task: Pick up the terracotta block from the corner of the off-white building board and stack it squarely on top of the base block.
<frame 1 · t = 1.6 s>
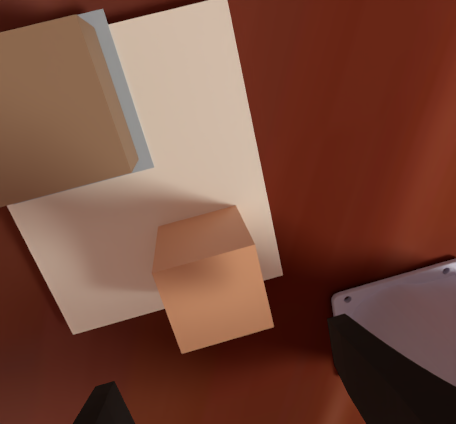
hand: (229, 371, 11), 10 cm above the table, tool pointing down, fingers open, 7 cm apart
terracotta block: (207, 250, 19), point 1 cm above the table, touching building board
building board: (141, 183, 19), on the table
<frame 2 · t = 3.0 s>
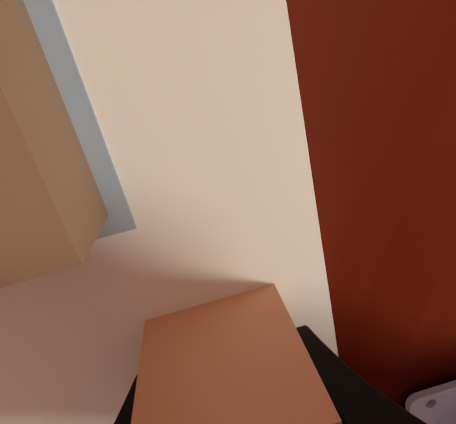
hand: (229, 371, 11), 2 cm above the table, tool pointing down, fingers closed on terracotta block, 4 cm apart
terracotta block: (225, 351, 12), point 1 cm above the table, touching building board, gripper
building board: (116, 248, 11), on the table
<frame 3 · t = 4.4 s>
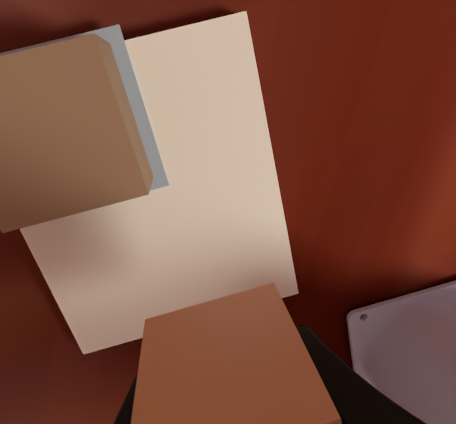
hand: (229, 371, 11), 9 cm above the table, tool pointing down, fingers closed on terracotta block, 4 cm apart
terracotta block: (225, 350, 12), point 8 cm above the table, touching gripper
building board: (154, 200, 18), on the table
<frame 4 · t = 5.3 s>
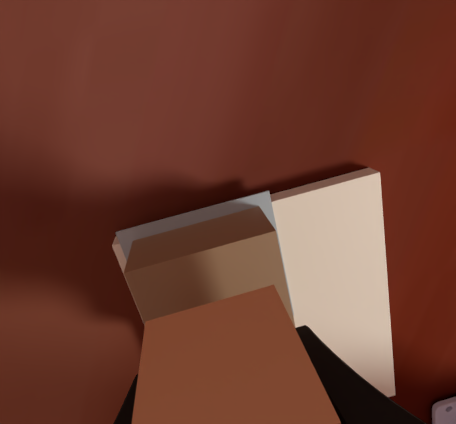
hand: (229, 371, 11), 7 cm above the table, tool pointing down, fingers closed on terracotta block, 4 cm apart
terracotta block: (225, 352, 12), point 6 cm above the table, touching gripper
building board: (272, 320, 19), on the table
when the fingers open (6 cm above the table, at t = 5.9 s): terracotta block stays where it is, resting on building board.
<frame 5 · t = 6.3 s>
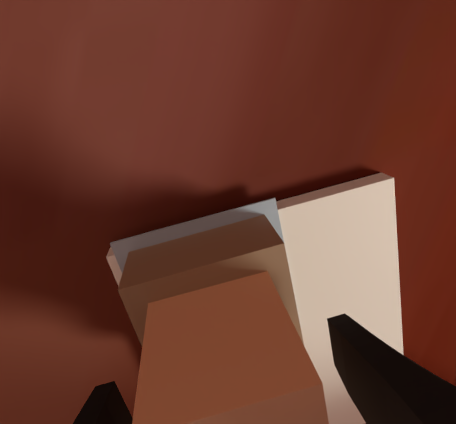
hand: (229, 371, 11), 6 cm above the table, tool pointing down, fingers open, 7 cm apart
terracotta block: (222, 334, 13), point 4 cm above the table, touching building board
building board: (277, 334, 18), on the table
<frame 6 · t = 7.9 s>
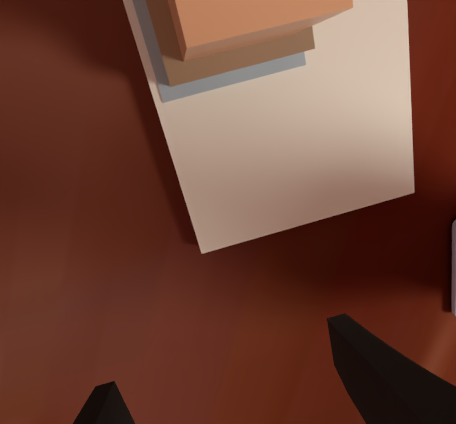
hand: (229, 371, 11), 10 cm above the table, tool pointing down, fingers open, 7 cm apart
building board: (281, 89, 18), on the table
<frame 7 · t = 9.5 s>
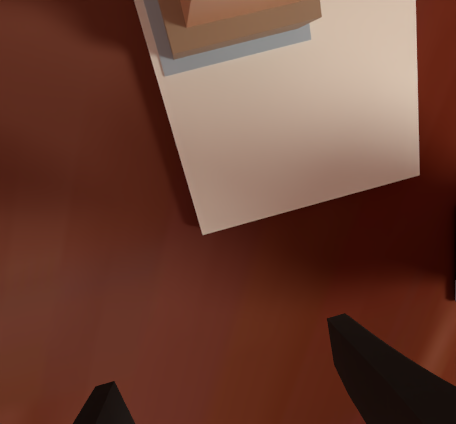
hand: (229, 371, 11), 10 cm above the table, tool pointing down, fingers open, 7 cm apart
building board: (285, 66, 18), on the table
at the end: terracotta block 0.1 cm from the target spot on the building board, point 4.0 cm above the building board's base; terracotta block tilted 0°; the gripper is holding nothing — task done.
